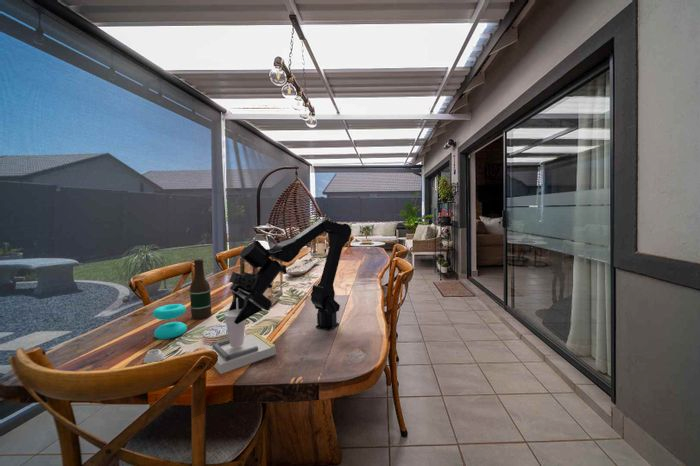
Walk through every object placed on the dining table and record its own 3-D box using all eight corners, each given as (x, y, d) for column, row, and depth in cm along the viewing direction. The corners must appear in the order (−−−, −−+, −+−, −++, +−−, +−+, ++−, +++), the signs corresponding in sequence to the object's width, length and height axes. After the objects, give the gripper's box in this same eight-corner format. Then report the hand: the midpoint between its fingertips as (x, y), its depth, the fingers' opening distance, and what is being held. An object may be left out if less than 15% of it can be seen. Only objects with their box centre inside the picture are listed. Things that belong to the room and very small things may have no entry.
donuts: (153, 305, 107) (185, 301, 112) (155, 332, 107) (186, 327, 113) (151, 313, 98) (186, 308, 103) (153, 342, 99) (187, 336, 104)
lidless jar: (167, 356, 89) (150, 357, 89) (167, 346, 89) (149, 347, 89) (157, 364, 84) (139, 365, 84) (157, 354, 84) (139, 355, 84)
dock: (256, 340, 99) (255, 329, 99) (275, 354, 89) (275, 343, 89) (205, 355, 89) (204, 344, 89) (220, 374, 78) (219, 361, 78)
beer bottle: (215, 315, 125) (212, 259, 124) (197, 321, 119) (194, 261, 117) (204, 312, 129) (202, 257, 128) (187, 317, 123) (183, 260, 121)
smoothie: (248, 346, 87) (247, 300, 85) (225, 351, 84) (223, 303, 83) (247, 337, 92) (245, 294, 91) (225, 341, 90) (223, 296, 89)
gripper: (234, 258, 96) (199, 299, 90) (259, 264, 82) (220, 313, 76) (259, 278, 102) (228, 317, 95) (286, 287, 88) (251, 334, 81)
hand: (231, 320), depth 87 cm, fingers closed on smoothie, 6 cm apart
